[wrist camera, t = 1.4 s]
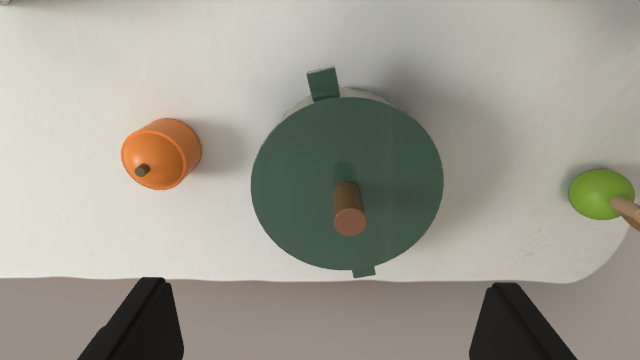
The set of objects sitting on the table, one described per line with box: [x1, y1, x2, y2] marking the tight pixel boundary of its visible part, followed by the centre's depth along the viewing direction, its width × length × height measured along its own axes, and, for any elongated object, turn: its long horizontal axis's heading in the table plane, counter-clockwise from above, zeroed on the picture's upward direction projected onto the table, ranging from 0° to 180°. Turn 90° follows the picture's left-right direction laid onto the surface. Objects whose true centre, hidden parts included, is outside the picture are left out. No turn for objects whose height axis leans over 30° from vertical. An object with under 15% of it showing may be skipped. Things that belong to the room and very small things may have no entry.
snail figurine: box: [568, 169, 640, 231], centre depth 33 cm, size 5×6×12 cm
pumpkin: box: [121, 119, 201, 190], centre depth 34 cm, size 6×6×7 cm
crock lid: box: [251, 96, 444, 270], centre depth 29 cm, size 18×18×6 cm
